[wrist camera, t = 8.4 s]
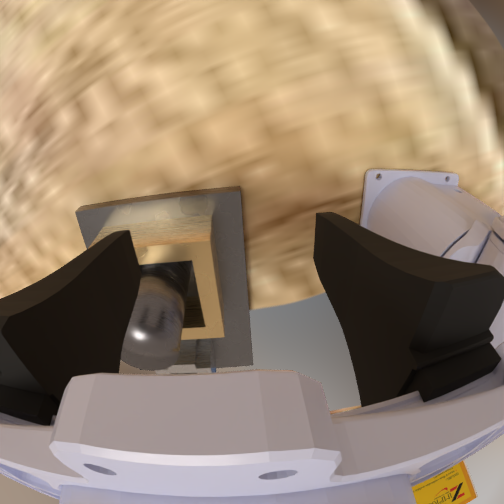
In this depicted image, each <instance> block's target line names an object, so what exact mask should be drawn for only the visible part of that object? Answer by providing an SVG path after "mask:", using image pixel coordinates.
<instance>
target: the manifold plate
mask: <svg viewBox="0 0 504 504" xmlns="http://www.w3.org/2000/svg"><path fill="white" fill-rule="evenodd" d="M75 213H76V216H77V220H78V223H79V226H80V229H81V233H82V236H83V239H84V242H85V245H86V248H87V249H89V248H90V247H91V246H93V245H94V244H96V243H97V242H98V241H100V240H101V239H103V238H104V237H106V236H108V235H109V234H111V233H113V232H115V231H123V230H130V234H131V237H132V241H133V245H134V249H135V252H136V256H137V259H138V263H139V265H142V264H154V263H166V262H177V261H189V260H190V263H191V273H190V280H189V286H188V293H187V299H186V306H185V313H184V321H183V328H182V336H181V344H180V352H179V358H178V360H177V362H176V363H175V364H174V365H172V366H171V367H169V368H167V369H163V370H155V371H156V373H157V374H196V373H216V368H223V367H237V366H249V365H253V357H252V343H251V331H250V317H249V303H248V290H247V276H246V263H245V249H244V235H243V221H242V206H241V191H240V186H237V187H225V188H214V189H204V190H194V191H185V192H176V193H168V194H160V195H152V196H145V197H137V198H130V199H123V200H117V201H110V202H104V203H98V204H92V205H86V206H81V207H80V208H79V209H78V210H77V211H76V212H75ZM140 370H143V369H140Z"/></svg>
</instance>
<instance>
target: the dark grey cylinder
mask: <svg viewBox="0 0 504 504" xmlns="http://www.w3.org/2000/svg"><path fill="white" fill-rule="evenodd" d="M139 266H140V269H141V273H142V274H141V280H140V286H139V292H138V296H137V299H136V302H135V305H134V309H133V312H132V315H131V318H130V321H129V325H128V328H127V331H126V334H125V338H124V342H123V346H122V352H121V360H122V361H123V362H125V363H127V364H129V365H131V366H133V367H136V368H139V369H143V370H153V371H154V370H163V369H167V368H169V367H171V366H172V365H174V364H175V363H176V362H177V360H178V358H179V352H180V344H181V336H182V328H183V321H184V313H185V306H186V299H187V293H188V286H189V280H190V273H191V263H190V260H189V261H177V262H166V263H154V264H142V265H139Z"/></svg>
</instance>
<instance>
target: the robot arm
mask: <svg viewBox="0 0 504 504" xmlns="http://www.w3.org/2000/svg"><path fill="white" fill-rule="evenodd" d="M377 174H380V176H379V178H377V179H376V175H377ZM446 177H447V179H446V180H445V178H446ZM458 181H459V176H458V175H457V174H456V173H451V172H438V171H421V170H397V169H369V170H368V171H367V172H366V174H365V182H364V192H363V202H362V211H361V219H360V225H358V224H356V223H354V222H352V221H351V220H349V219H347V218H345V217H342V216H340V215H338V214H336V213H332V212H326V213H316V227H315V243H314V257H313V259H314V262H315V266H316V269H317V272H318V275H319V278H320V281H321V283H322V285H323V287H324V289H325V291H326V293H327V296H328V298H329V300H330V302H331V304H332V306H333V308H334V310H335V313H336V315H337V317H338V319H339V322H340V324H341V327H342V329H343V332H344V335H345V339H346V342H347V345H348V349H349V352H350V356H351V360H352V363H353V367H354V371H355V376H356V380H357V385H358V390H359V394H360V400H361V406H362V407H361V408H357V409H353V410H349V411H344V412H340V413H335V414H330V412H329V408H328V405H327V401H326V397H325V394H324V390H323V387H322V383H321V382H319V381H316V380H314V379H312V378H310V377H307V376H305V375H302V374H300V373H298V372H295V371H292V370H264V369H255V370H245V371H231V372H216V373H196V374H119V366H120V359H121V352H122V346H123V342H124V338H125V334H126V331H127V328H128V325H129V321H130V318H131V315H132V312H133V309H134V305H135V302H136V299H137V296H138V292H139V286H140V280H141V274H142V273H141V269H140V266H139V263H138V259H137V256H136V252H135V249H134V245H133V241H132V237H131V234H130V230H123V231H115V232H113V233H111V234H109V235H108V236H106V237H104V238H103V239H101V240H100V241H98V242H97V243H96V244H94V245H93V246H91V247H90V248H89V249H87V250H86V251H84V252H83V253H82V254H80V255H79V256H77V257H76V258H74V259H73V260H71V261H70V262H69V263H67V264H66V265H64V266H63V267H61V268H60V269H58V270H57V271H55V272H53V273H52V274H50V275H48V276H47V277H45V278H43V279H42V280H40V281H38V282H36V283H34V284H32V285H30V286H28V287H26V288H24V289H22V290H20V291H18V292H16V293H13V294H11V295H9V296H6V297H4V298H1V299H0V473H1V474H3V475H4V476H6V477H8V478H10V479H12V480H15V481H17V482H19V483H21V484H23V485H25V486H27V487H29V488H32V489H34V490H36V491H38V492H41V493H43V494H45V495H48V496H51V497H53V498H56V499H58V500H60V501H59V504H417V503H416V500H415V497H414V493H413V490H412V487H413V486H415V485H417V484H420V483H422V482H424V481H426V480H428V479H430V478H432V477H434V476H436V475H438V474H440V473H442V472H444V471H445V470H447V469H449V468H451V467H453V466H454V465H456V464H458V463H460V462H461V461H463V460H465V459H466V458H468V457H469V456H471V455H473V454H474V453H476V452H477V451H479V450H480V449H482V448H484V447H485V446H487V445H488V444H490V443H491V442H492V441H494V440H495V439H497V438H498V437H500V436H501V435H502V434H504V216H501V215H500V214H499V213H498V212H496V211H495V210H493V209H492V208H490V207H489V206H488V205H486V204H485V203H483V202H482V201H480V200H479V199H477V198H476V197H474V196H473V195H471V194H469V193H468V192H466V191H465V190H463V189H461V188H460V187H458Z"/></svg>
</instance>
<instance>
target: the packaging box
mask: <svg viewBox="0 0 504 504" xmlns="http://www.w3.org/2000/svg"><path fill="white" fill-rule="evenodd" d="M412 490H413V493H414V497H415V500H416V503H417V504H466V503H468V502H470V501H471V500H473V499H475V498H476V497H477V492H476V490H475V487H474V484H473V482H472V479H471V476H470V474H469V471H468V468H467V466H466V463H465V461H464V460H463V461H461V462H460V463H458V464H456V465H454V466H453V467H451V468H449V469H447V470H445V471H444V472H442V473H440V474H438V475H436V476H434V477H432V478H430V479H428V480H426V481H424V482H422V483H420V484H417V485H415V486H413V487H412Z"/></svg>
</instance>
